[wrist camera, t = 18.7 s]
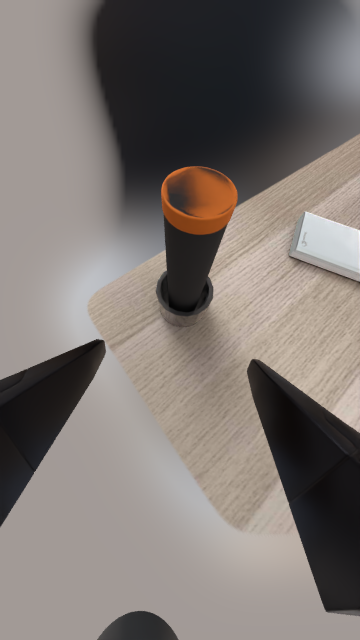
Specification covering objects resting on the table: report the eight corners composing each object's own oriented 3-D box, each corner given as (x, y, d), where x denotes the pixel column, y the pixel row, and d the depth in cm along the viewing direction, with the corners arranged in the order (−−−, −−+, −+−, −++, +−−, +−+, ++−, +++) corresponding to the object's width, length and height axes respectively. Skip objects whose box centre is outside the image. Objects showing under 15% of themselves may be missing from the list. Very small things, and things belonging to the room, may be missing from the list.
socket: (178, 336, 18) (180, 327, 14) (150, 300, 19) (144, 283, 15) (214, 309, 19) (224, 294, 16) (186, 277, 21) (189, 256, 17)
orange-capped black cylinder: (202, 300, 19) (251, 186, 7) (186, 322, 18) (213, 232, 6) (179, 285, 20) (189, 156, 8) (162, 306, 19) (145, 194, 7)
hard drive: (296, 248, 21) (390, 282, 20) (305, 209, 23) (390, 237, 22) (287, 257, 22) (374, 289, 21) (297, 219, 25) (375, 246, 24)
